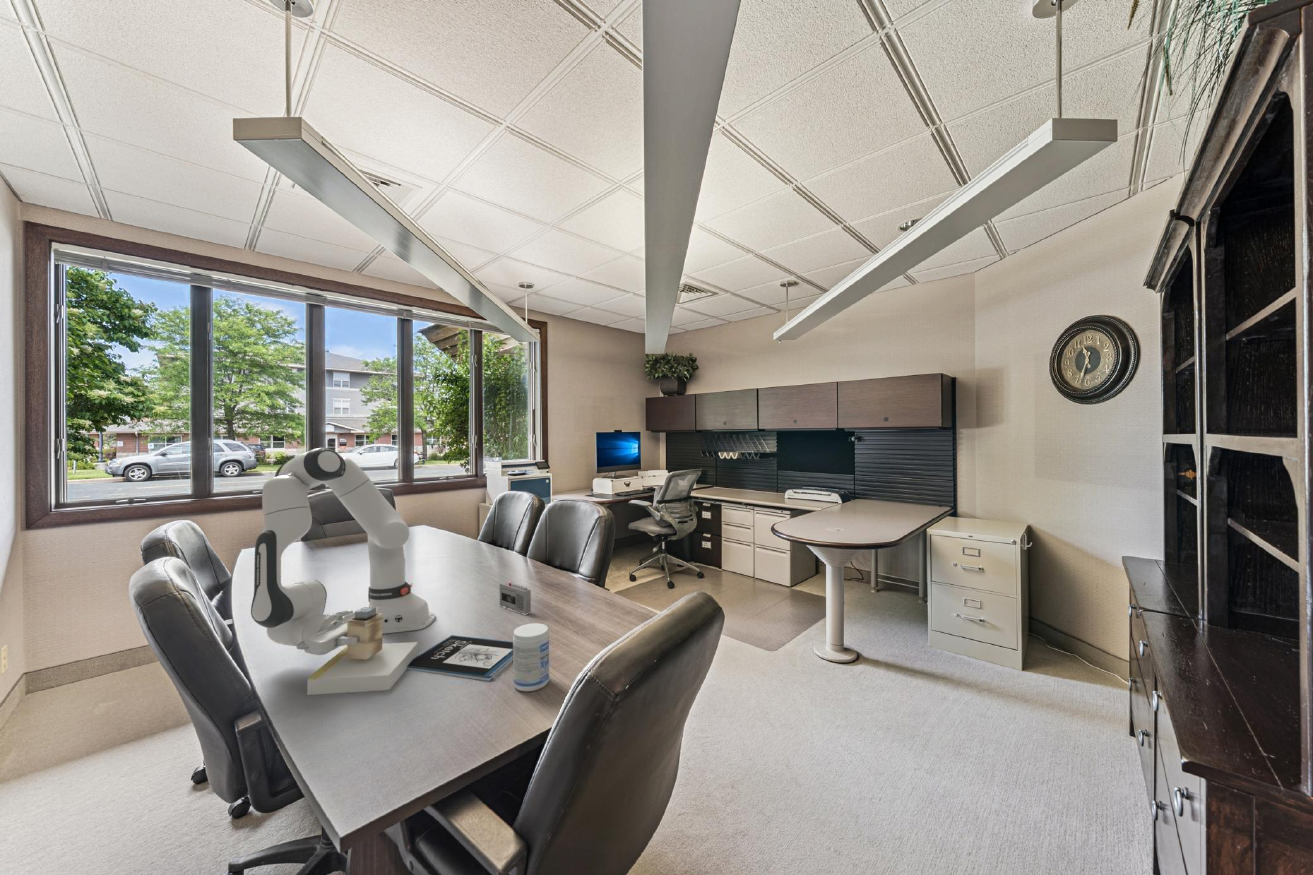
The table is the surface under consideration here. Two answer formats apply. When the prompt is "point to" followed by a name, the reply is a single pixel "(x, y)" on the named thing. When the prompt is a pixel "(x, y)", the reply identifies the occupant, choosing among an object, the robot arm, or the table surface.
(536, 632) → the supplement tub
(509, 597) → the cassette player
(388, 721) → the table surface
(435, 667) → the sketchbook
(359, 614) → the metal block
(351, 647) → the wooden block
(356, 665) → the white square slab
